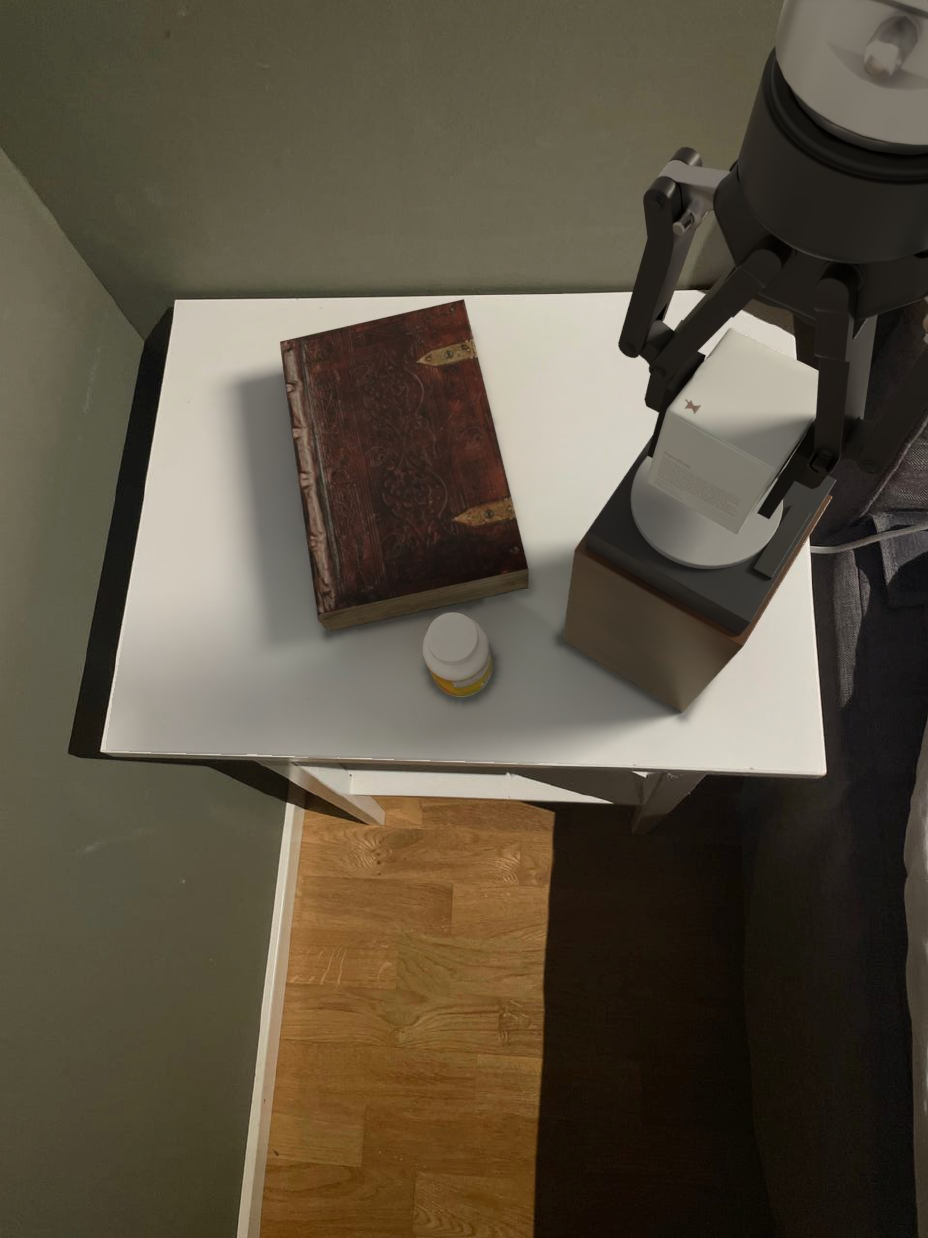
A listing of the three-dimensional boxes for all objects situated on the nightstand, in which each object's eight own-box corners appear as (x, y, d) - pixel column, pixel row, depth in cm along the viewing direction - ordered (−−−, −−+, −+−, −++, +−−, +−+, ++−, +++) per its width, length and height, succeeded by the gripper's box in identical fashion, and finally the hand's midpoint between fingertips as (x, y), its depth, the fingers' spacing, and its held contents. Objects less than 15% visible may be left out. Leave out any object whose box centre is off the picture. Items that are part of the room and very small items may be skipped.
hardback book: (290, 371, 81) (275, 339, 76) (467, 333, 80) (464, 298, 76) (327, 631, 71) (313, 614, 66) (528, 589, 71) (528, 568, 66)
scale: (822, 498, 50) (840, 474, 47) (739, 636, 48) (753, 620, 45) (670, 421, 53) (678, 394, 50) (584, 547, 50) (588, 527, 47)
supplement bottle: (424, 651, 70) (408, 616, 61) (480, 631, 70) (473, 593, 61) (443, 707, 68) (429, 680, 59) (501, 686, 68) (496, 656, 59)
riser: (750, 601, 69) (833, 496, 50) (682, 713, 66) (743, 646, 47) (631, 535, 72) (667, 412, 53) (562, 640, 69) (574, 550, 50)
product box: (736, 539, 43) (775, 473, 36) (642, 483, 44) (662, 409, 38) (793, 458, 44) (842, 379, 37) (700, 406, 46) (729, 321, 39)
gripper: (548, 38, 24) (539, 440, 46) (1210, 296, 19) (848, 607, 41) (671, -108, 25) (606, 348, 47) (1308, 98, 21) (910, 498, 43)
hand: (718, 468), depth 44 cm, fingers closed on product box, 6 cm apart
